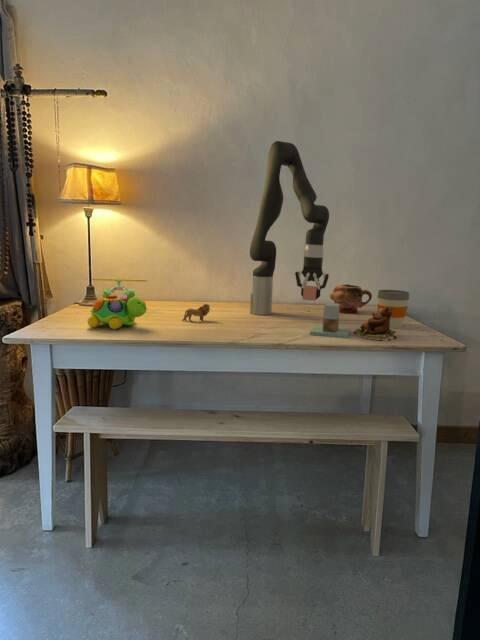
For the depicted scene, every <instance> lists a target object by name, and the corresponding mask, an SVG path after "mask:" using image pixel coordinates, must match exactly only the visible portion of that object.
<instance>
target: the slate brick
mask: <svg viewBox="0 0 480 640" xmlns="http://www.w3.org/2000/svg"><path fill="white" fill-rule="evenodd" d="M339 309H340V304H336V303H335V302H326V303H325V304H324V306H323V319H324V318H325V319H338V317H339V318H340V313H339Z"/></svg>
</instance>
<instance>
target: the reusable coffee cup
mask: <svg viewBox="0 0 480 640" xmlns="http://www.w3.org/2000/svg"><path fill="white" fill-rule="evenodd" d="M376 297H377V311H378V310H379V309H381V308H386V307H389V308H391V307H392V308H393V309H392V310H391V311H392V315H391V316H390V325H389V326H390V329H400V328H402V327H403V323H404V321H405V318H406V315H407V310H408V302H409V301H410V292H409V291H405V290H399V289H396V290H395V289H379V290H378V292H377V296H376Z"/></svg>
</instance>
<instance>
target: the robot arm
mask: <svg viewBox="0 0 480 640" xmlns="http://www.w3.org/2000/svg"><path fill="white" fill-rule="evenodd" d="M267 156H268V157H267V164H266V165H267V166H266V177H265V182H264V187H263V190H262V191H263V192H262V196H261V200H260V201H261V202H260V207H259V212H258V217H257V221H256V226H255V229H254V231H253V236H252V240H251V242H250V248H249V256H250V258H251V260H252V261H254V262H260V263H261V264H260V265H259V266H257V267H256V268H254V269H253V270H252V287H251V290H252V291H251V292H250V306H249V307H250V309H249V313H250V314H253V315H259V316H269V315H272V312H273V311H272V310H273V309H272V308H273V307H272V306H273V287H274V286H273V285H274V284H273V283H274V274H275V270H276V262H277V261H276V259H277V246H276V244H275V242H274V241H272V240H266V238H267V235H268V232H269V230H270V228H272V226H273V225H274V223H275V222H276V221H277V220H278V218H279V217H280V215H281V213H282V207H283V203H284V192H283V188H282V186H281V185H282V184H281V179H280V176H281V175H280V174H281V170H282V166H284V167H287V168H288V170H290V172H291V174H292V189H293V191H294V194H295V195H296V196H295V197H296V198H297V200H298V201H299V204H300V208H301V213H302V216H303V219H304V221H306V222H307V223H309V224H313V226H312V228H310V229H308V230H307V231H306V234H305V246H304V249H303V250H304V252H303V253H304V254H303V264H302V265H303V266H302V270H301V271H298V270H297V271H296V272H295V273H294V275H295V280H296V286H297V287H299V288H301V289H300V290H301V291H300V295H301V297H302V298H303V289H304V287H305V286H306V285H307V284H308V282H314V283H315V286H317V293H316V300H318V299H319V298H320V297H321V290H322V289H323V290H324V289H325V288H326V286H327V284H328V280H329V277H330V274H329V273H326V272H323V260H324V241H325V240H324V239H325V237H324V236H325V232H326V229H327V227H328V223H329V219H330V212H329V209H328V207H327V206H325V205H320V204H316V203H315V202H316V201H317V194H316V192H315V189H314V188H313V186H312V184H311V183H310V180H309V179H308V176H307V174H306V171H305V167H304V165H303V162H302V159H301V155H300V152H299V150H298V148H297V146H296V145H295V144H294V143H292V142H286V141H280V140H276V141H274V142H273V143H272V144H271V146H270V148H269V151H268V155H267ZM302 276H303V277H304V279H303V281H302V282H301V277H302ZM321 276H322V278H323V282H322V285H321V281H320V278H321Z"/></svg>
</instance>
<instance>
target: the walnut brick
mask: <svg viewBox="0 0 480 640" xmlns="http://www.w3.org/2000/svg"><path fill="white" fill-rule="evenodd" d="M339 321H340V316H339V317H338V319H325V318H324V317H323V322H322V324H323V325H322V327H323V331H325V332H337V330H338V328H339V324H340V323H339Z"/></svg>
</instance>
